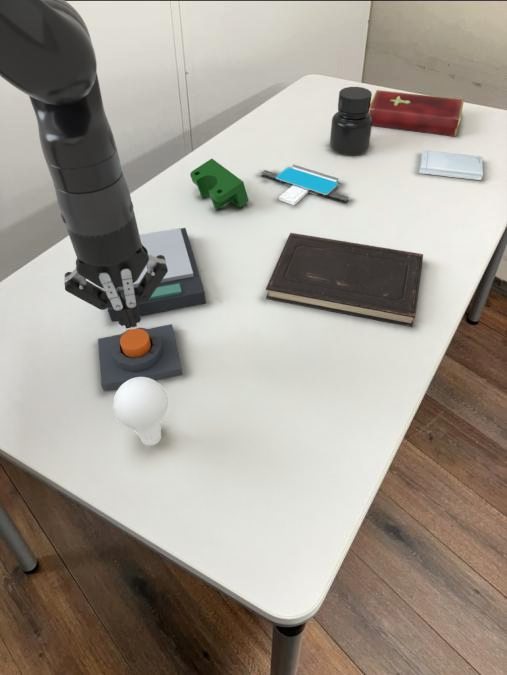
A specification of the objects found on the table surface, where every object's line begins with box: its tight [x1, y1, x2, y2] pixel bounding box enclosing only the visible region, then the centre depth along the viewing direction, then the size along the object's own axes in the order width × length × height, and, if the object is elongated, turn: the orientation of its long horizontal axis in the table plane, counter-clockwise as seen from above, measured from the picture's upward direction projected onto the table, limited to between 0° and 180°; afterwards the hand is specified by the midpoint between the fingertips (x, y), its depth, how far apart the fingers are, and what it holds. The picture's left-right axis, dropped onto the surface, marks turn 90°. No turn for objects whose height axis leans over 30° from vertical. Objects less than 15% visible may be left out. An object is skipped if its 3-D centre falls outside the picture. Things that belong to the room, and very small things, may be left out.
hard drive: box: [418, 149, 484, 181], centre depth 108 cm, size 2×8×12 cm
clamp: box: [189, 158, 249, 211], centre depth 100 cm, size 12×6×9 cm, turn 29°
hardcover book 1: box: [265, 232, 424, 328], centre depth 84 cm, size 16×23×2 cm
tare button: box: [120, 328, 151, 358], centre depth 71 cm, size 4×4×2 cm
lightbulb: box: [113, 377, 169, 446], centre depth 61 cm, size 6×6×11 cm
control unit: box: [97, 323, 184, 392], centre depth 73 cm, size 11×9×3 cm
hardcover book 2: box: [368, 89, 465, 137], centre depth 123 cm, size 12×21×4 cm, turn 71°
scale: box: [107, 227, 207, 322], centre depth 85 cm, size 15×18×3 cm
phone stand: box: [260, 164, 350, 206], centre depth 104 cm, size 20×12×2 cm, turn 56°
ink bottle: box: [329, 86, 373, 156], centre depth 112 cm, size 10×9×12 cm
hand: (130, 323), depth 69 cm, fingers closed
